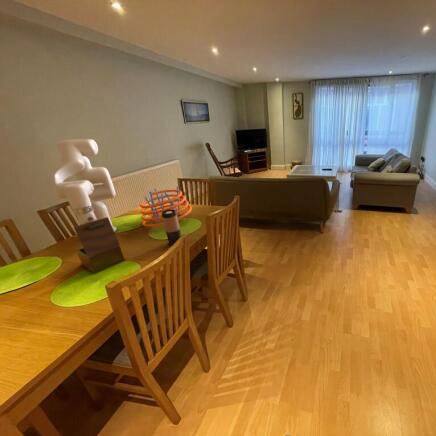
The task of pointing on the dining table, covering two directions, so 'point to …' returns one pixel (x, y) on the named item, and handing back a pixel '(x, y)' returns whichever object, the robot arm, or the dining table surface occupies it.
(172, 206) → the toy basket
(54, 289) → the dining table surface
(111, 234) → the lid
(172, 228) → the travel mug
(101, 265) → the chest
